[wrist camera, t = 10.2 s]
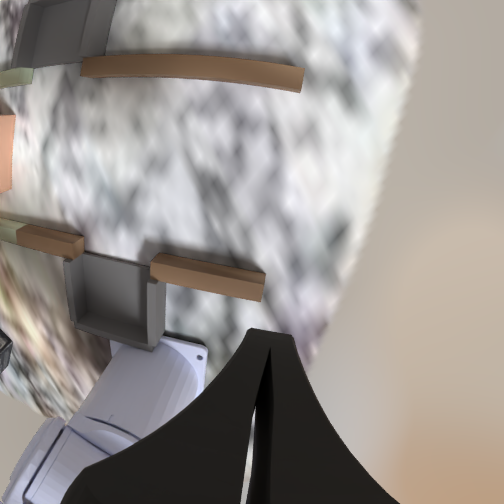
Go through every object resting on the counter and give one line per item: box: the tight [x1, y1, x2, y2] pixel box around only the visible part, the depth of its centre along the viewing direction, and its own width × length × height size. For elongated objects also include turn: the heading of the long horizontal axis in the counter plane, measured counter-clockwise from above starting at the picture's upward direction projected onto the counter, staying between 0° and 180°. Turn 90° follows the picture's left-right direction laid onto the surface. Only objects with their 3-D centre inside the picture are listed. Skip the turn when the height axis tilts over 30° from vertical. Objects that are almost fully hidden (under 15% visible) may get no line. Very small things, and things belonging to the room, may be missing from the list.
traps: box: [11, 0, 166, 352], centre depth 18 cm, size 25×13×2 cm, turn 171°
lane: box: [0, 54, 305, 302], centre depth 18 cm, size 13×32×2 cm, turn 81°
